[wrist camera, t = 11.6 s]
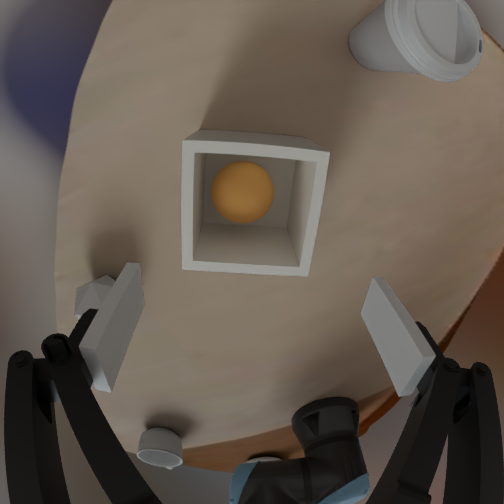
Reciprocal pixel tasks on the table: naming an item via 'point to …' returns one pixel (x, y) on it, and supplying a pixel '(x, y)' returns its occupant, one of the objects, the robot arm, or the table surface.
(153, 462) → the teacup
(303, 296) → the table surface
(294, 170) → the white open box
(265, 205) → the ball
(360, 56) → the coffee cup
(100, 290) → the die
